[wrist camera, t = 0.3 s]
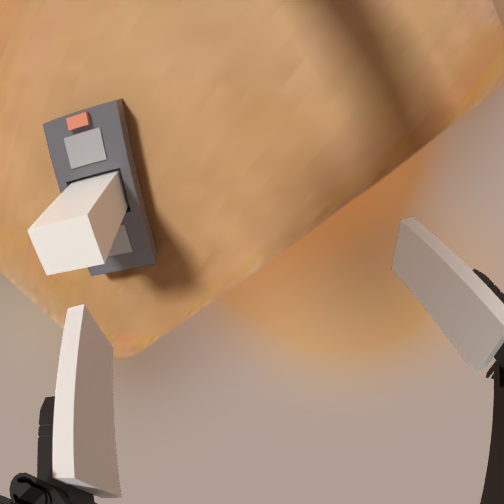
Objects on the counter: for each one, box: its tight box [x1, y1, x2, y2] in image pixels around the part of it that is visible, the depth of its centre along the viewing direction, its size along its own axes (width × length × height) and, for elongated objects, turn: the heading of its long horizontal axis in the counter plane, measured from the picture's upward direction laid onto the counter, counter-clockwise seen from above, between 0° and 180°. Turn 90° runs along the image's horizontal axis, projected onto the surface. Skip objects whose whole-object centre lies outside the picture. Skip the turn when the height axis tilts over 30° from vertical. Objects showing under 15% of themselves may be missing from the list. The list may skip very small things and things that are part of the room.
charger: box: [28, 169, 129, 275], centre depth 28 cm, size 4×6×13 cm
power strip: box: [43, 99, 157, 276], centre depth 33 cm, size 20×9×4 cm, turn 6°
